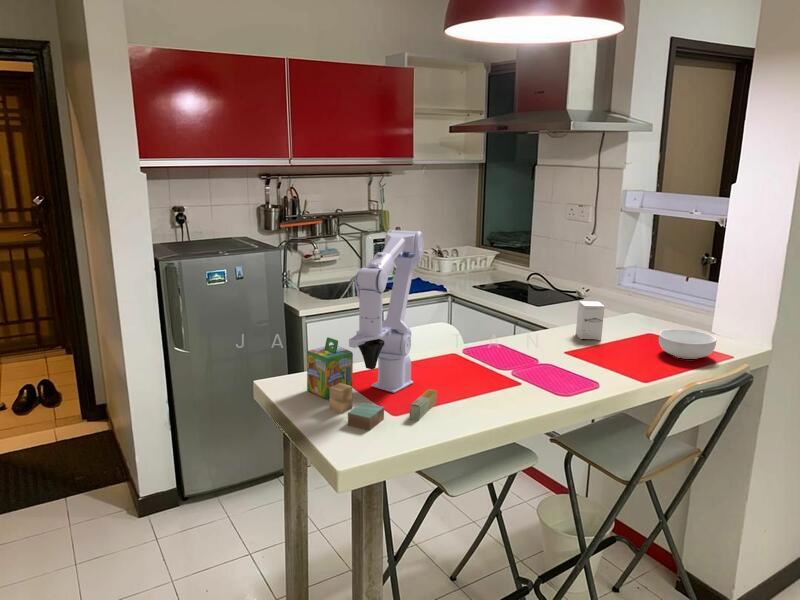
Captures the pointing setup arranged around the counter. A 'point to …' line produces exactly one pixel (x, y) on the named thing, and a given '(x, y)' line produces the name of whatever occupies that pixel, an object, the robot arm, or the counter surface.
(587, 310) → the supplement box
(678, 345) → the cereal bowl
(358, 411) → the walnut block
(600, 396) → the counter surface
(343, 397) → the oak block
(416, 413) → the medication box
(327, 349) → the chalk box
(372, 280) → the robot arm
